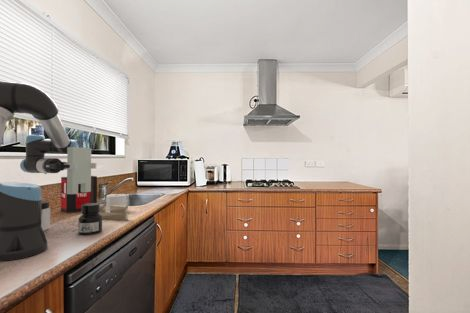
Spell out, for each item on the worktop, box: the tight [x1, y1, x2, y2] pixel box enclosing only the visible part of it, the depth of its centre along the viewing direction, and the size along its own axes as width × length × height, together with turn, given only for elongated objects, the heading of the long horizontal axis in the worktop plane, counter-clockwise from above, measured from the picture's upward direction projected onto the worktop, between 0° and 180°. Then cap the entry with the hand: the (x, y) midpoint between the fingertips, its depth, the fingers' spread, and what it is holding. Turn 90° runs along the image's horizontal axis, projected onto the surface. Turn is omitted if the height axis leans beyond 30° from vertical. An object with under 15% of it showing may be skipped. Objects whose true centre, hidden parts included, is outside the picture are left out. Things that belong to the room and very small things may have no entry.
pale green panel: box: [66, 146, 92, 194], centre depth 123 cm, size 11×3×22 cm, turn 166°
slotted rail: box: [99, 203, 129, 221], centre depth 132 cm, size 2×22×7 cm, turn 77°
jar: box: [41, 200, 51, 232], centre depth 111 cm, size 9×8×12 cm
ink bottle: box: [77, 202, 103, 236], centre depth 108 cm, size 10×9×12 cm
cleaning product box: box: [60, 175, 98, 214], centre depth 154 cm, size 16×9×20 cm, turn 143°
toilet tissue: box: [105, 193, 127, 211], centre depth 147 cm, size 11×12×10 cm
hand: (86, 166), depth 122 cm, fingers closed on pale green panel, 11 cm apart
